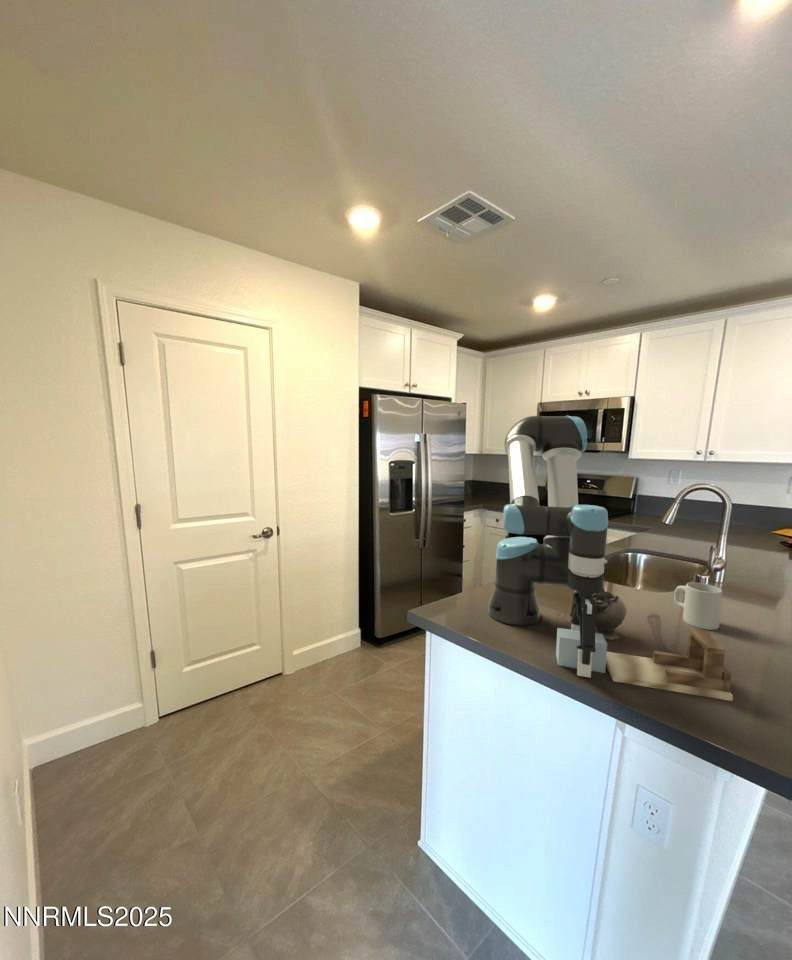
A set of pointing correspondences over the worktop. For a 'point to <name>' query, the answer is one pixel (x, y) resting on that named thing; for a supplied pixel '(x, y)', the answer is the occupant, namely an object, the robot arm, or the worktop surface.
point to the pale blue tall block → (569, 651)
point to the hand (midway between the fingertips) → (579, 662)
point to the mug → (700, 605)
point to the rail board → (677, 668)
